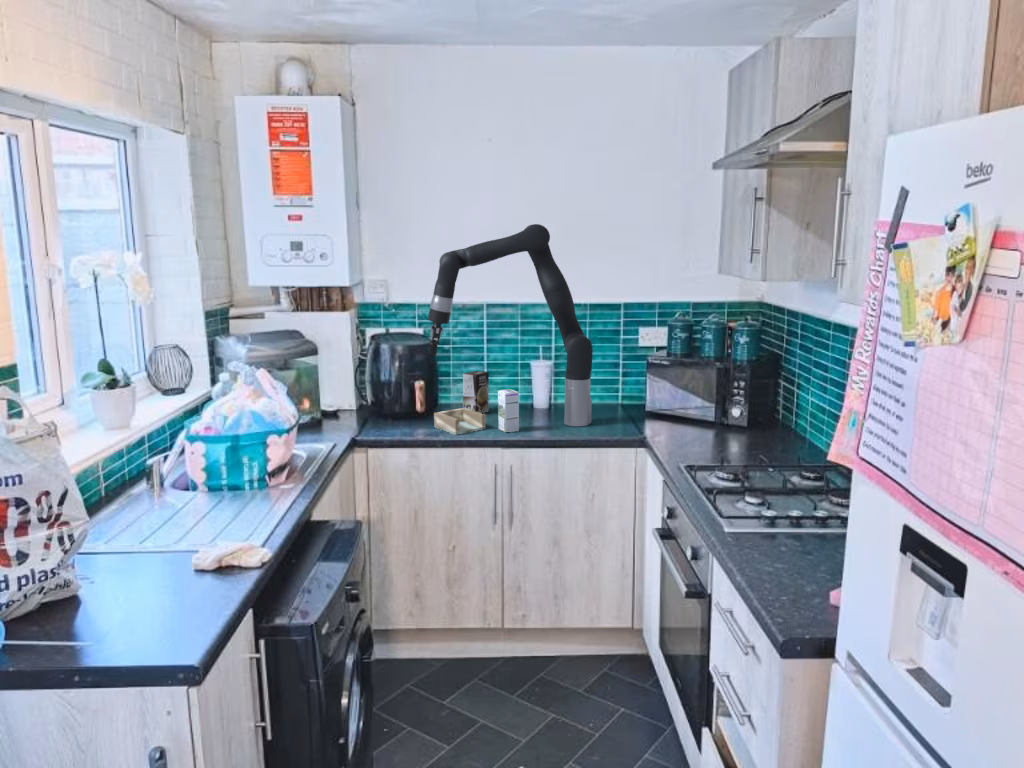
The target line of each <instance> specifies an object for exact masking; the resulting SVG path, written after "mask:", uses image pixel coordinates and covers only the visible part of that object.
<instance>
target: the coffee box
mask: <svg viewBox="0 0 1024 768" xmlns="http://www.w3.org/2000/svg"><path fill="white" fill-rule="evenodd" d="M489 373H490V372H489V371H484V370H482V371H480V370H473V371H469V372H466V373H462V408H466V409H469V410H472V411H475V412H479V413H483V414H486V413H485V412H487V413H489V412H488V411H489V410H490V408H489V407H490V406H489V403H490V402H489V400H490V399H489V393H490V392H489V391H490V390H489V389H490V388H489V383H490V382H489V377H490V376H489Z"/></svg>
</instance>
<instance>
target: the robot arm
mask: <svg viewBox="0 0 1024 768" xmlns="http://www.w3.org/2000/svg"><path fill="white" fill-rule="evenodd" d="M550 234H551V233H550V231H549V229H548V228H546V227H545V226H544V225H542V224H539V223H534V224H529V225H527V226H526V227H525V228H524V229H523V230H521V231H519V232H517V233H515V234H511V235H509V236H505V237H502V238H496V239H492V240H486V241H484V242H480V243H477V244H473V245H470V246H468V247H467V246H466V247H465V248H459V249H455V250H451V251H447V252H445V253H443V254H442V255H440V258H439V261H438V262H439V268H438V271H437V272H438V273H437V279H436V282H435V284H434V290H433V294H432V297H431V300H430V301H431V302H430V306H429V312H428V315H427V317H428V318H427V320H428V321H429V322H432V325H431V326H430V334H429V336H430V337H429V339H430V341H429V342H430V343H429V346H428V350H429V356H433V357H435V356H436V354H437V350H438V347H439V344H440V341H441V339H442V338H441V336H442V333H443V331H444V330H443V329H444V328H443V327H442V325H449V323H450V320H451V314H452V308H453V301H454V294H455V290H456V289H455V288H456V283H457V280H458V275H459V271H460V270H461V269H465V268H468V267H476V266H479V265H483V264H487V263H491V262H492V261H493V262H494V261H495V260H498V259H502V258H504V257H507V256H510V255H514V254H518V253H524V252H527V253H528V255H529V257H530V259H531V261H532V263H533V265H534V268H535V271H536V276H537V279H538V282H539V284H540V288H541V291H542V293H543V296H544V299H545V301H546V303H547V306H548V309H549V310H550V313H551V314H552V317H553V318H554V321H556V324H557V327H558V329H559V332H560V335H561V340H562V342H563V343H562V344H563V347H564V350H565V353H566V367H565V371H564V372H565V374H564V378H565V379H564V417H563V419H564V422H563V423H564V425H566V426H569V427H587V426H588V425H590V424H592V414H593V412H592V411H593V406H592V405H593V398H592V397H591V374H592V368H593V367H592V366H593V344H592V341H591V340H590V338H588V337H587V336H586V335H585V334H584V331H583V329H582V328H581V324H580V323H579V321H578V317H577V315H576V309H575V304H574V299H573V296H572V292H571V290H570V287H569V285H568V283H567V279H566V278H565V276H564V274H563V272H562V271H561V268H559V266H558V264H557V262H556V261H555V258H554V256H553V254H552V252H551V249H550V245H549V243H550V239H551V235H550Z"/></svg>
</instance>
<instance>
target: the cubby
mask: <svg viewBox="0 0 1024 768" xmlns="http://www.w3.org/2000/svg"><path fill="white" fill-rule="evenodd" d="M486 421H487V420H486V413H483V414H482V413H479V412H475V411H472V410H469V409H466V408H463V407H461V408H456V409H455V408H454V409H449V410H444V411H443V410H442V411H438V412H433V423H434V424H433V425H434V426H433V427H435V429H437V430H439V429H440V431H442V430H443V431H442V432H445V431H446V433H448V432H449V433H448V434H451V435H454V436H459V435H458V434H460V435H464V434H463V433H465V434H468V432H470V433H474V432H473V431H475V432H479V431H478V430H480V431H484V430H483V429H485V430H486V427H487V426H486Z"/></svg>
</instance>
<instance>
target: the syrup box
mask: <svg viewBox="0 0 1024 768" xmlns="http://www.w3.org/2000/svg"><path fill="white" fill-rule="evenodd" d="M519 393H520V392H519V391H516V390H514V389H510V388H509V389H507V388H506V389H505V388H504V389H500V390H497V414H498V415H497V416H498V417H497V418H498V419H497V421H498V425H497V426H498V428H497V429H498V430H499V431H501V432H502V433H505V434H507V433H506V432H511V433H515V432H514V431H517V432H519V431H520V426H519V425H520V421H519V419H520V418H519V414H520V404H519V402H520V401H519V399H520V397H519V396H520V395H519Z"/></svg>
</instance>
